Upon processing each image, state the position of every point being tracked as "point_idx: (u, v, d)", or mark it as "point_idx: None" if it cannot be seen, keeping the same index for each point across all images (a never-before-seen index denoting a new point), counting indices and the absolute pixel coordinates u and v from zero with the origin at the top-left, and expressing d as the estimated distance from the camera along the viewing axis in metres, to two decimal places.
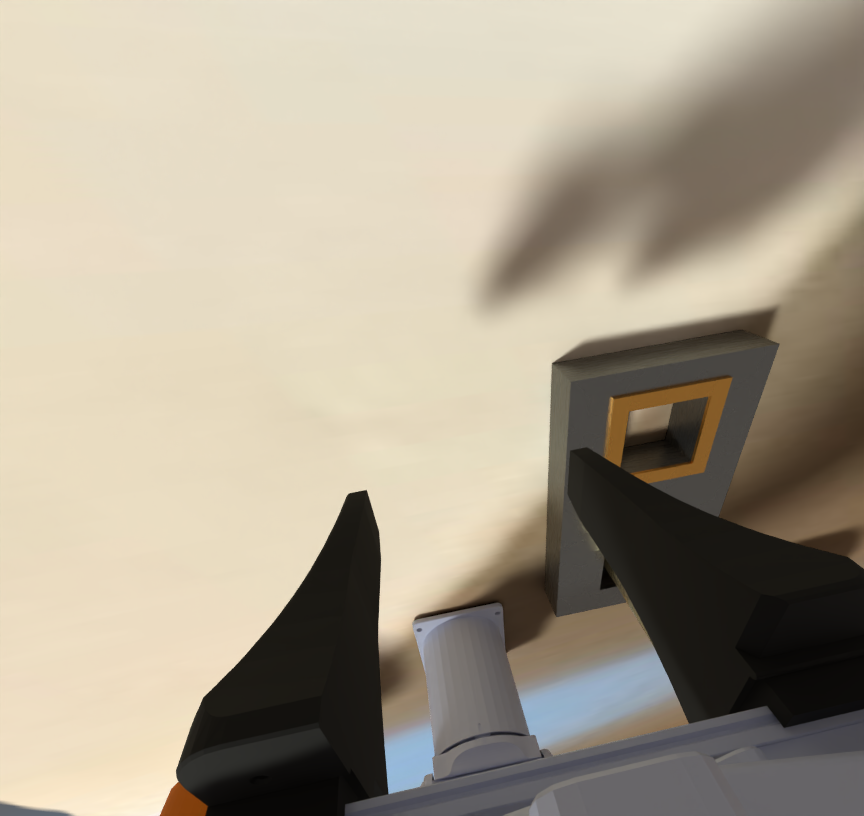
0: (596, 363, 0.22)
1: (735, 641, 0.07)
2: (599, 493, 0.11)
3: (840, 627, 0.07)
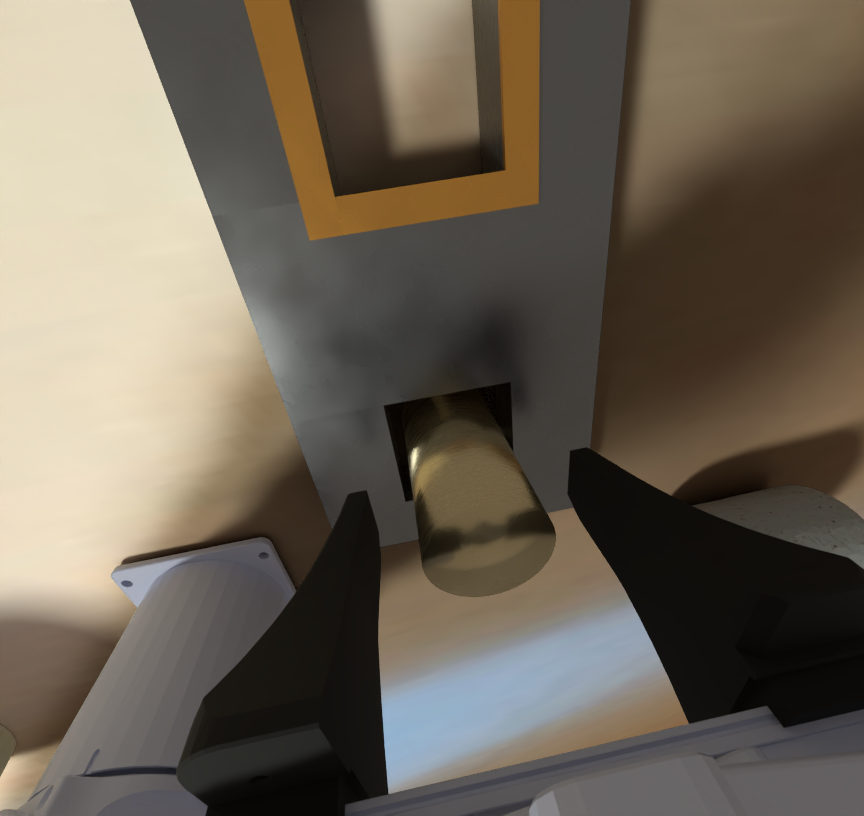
0: None
1: (735, 641, 0.07)
2: (599, 493, 0.11)
3: (840, 627, 0.07)
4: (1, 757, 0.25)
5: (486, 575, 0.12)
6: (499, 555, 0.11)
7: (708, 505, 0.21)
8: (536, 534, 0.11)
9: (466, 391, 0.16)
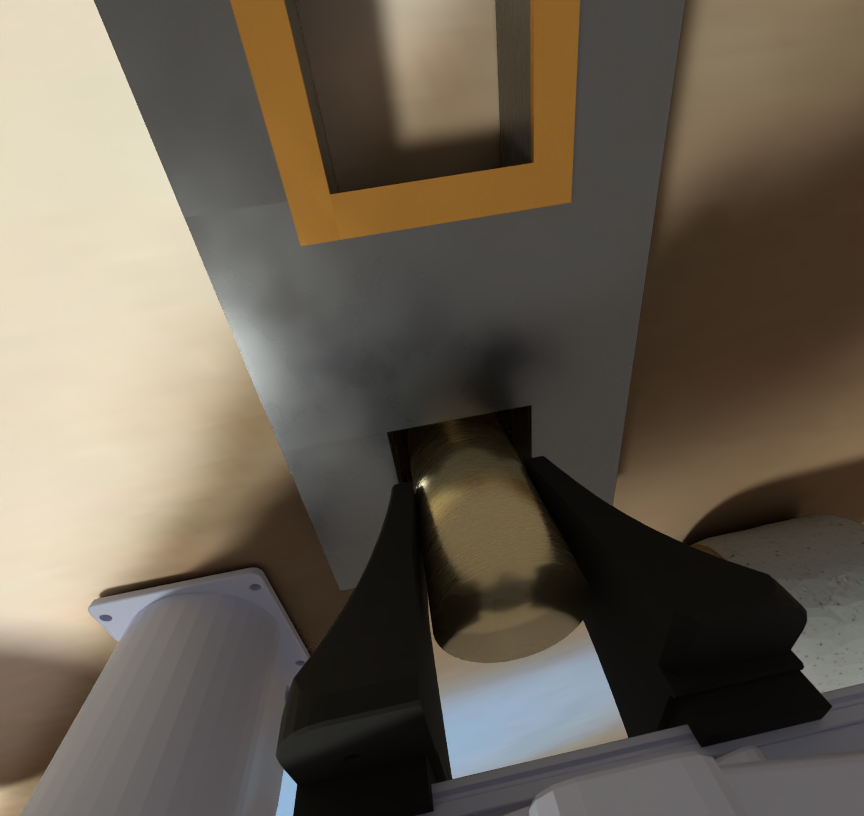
0: None
1: (658, 658, 0.07)
2: (550, 503, 0.11)
3: (760, 645, 0.07)
4: None
5: (508, 640, 0.10)
6: (524, 619, 0.09)
7: (738, 537, 0.20)
8: (569, 596, 0.09)
9: None
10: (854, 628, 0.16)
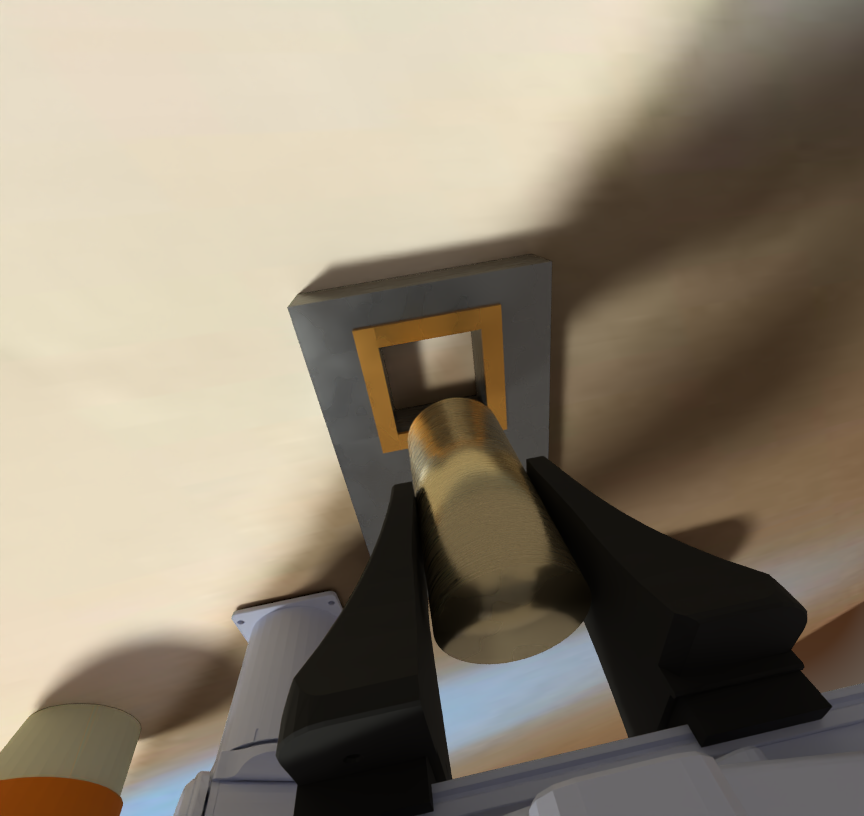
0: (341, 290, 0.18)
1: (658, 658, 0.07)
2: (550, 503, 0.11)
3: (760, 645, 0.07)
4: (135, 740, 0.34)
5: (508, 642, 0.10)
6: (524, 621, 0.10)
7: None
8: (569, 597, 0.09)
9: (479, 414, 0.14)
10: None
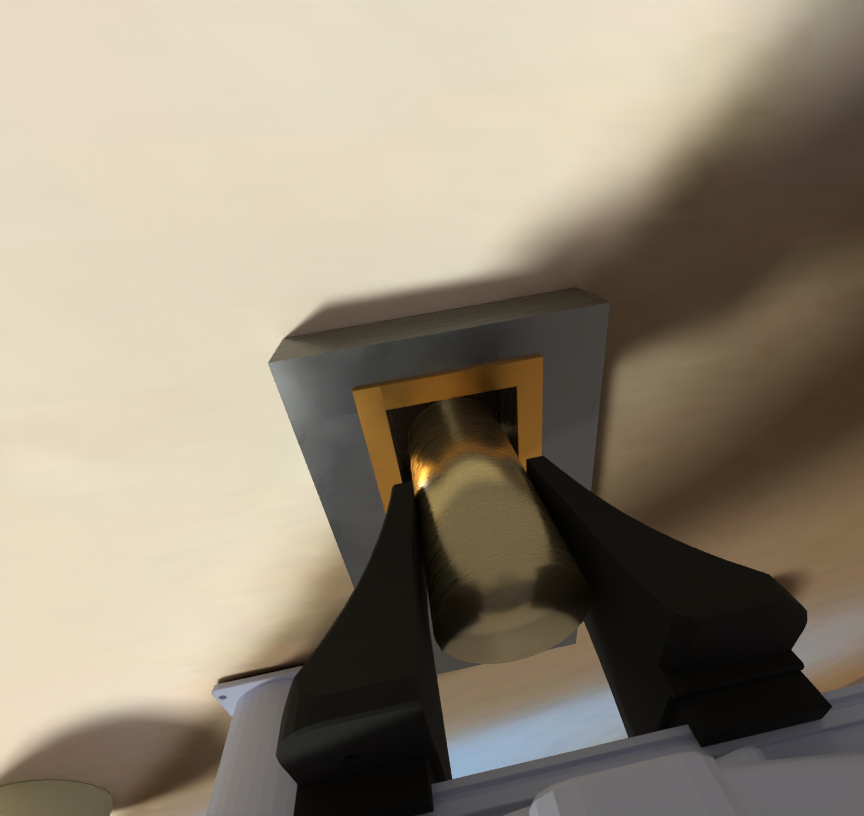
0: (338, 336, 0.14)
1: (658, 658, 0.07)
2: (550, 503, 0.11)
3: (760, 645, 0.07)
4: None
5: (508, 641, 0.10)
6: (524, 621, 0.10)
7: None
8: (569, 597, 0.09)
9: (479, 414, 0.14)
10: None
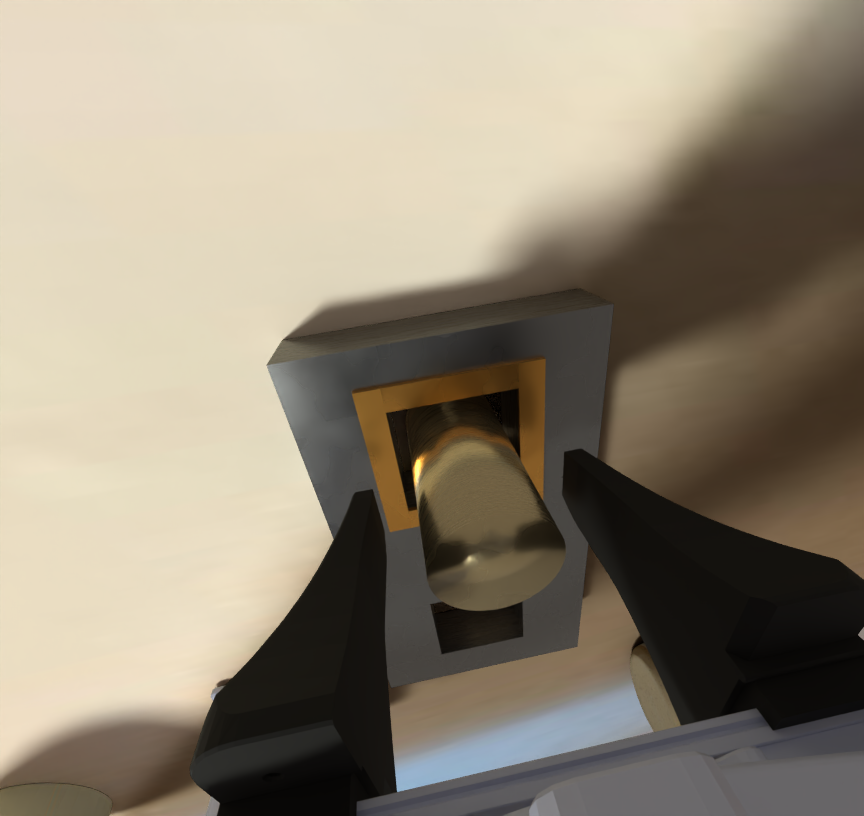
0: (337, 337, 0.14)
1: (725, 643, 0.07)
2: (593, 494, 0.11)
3: (829, 629, 0.07)
4: None
5: (493, 589, 0.11)
6: (507, 569, 0.11)
7: None
8: (545, 547, 0.11)
9: None
10: None
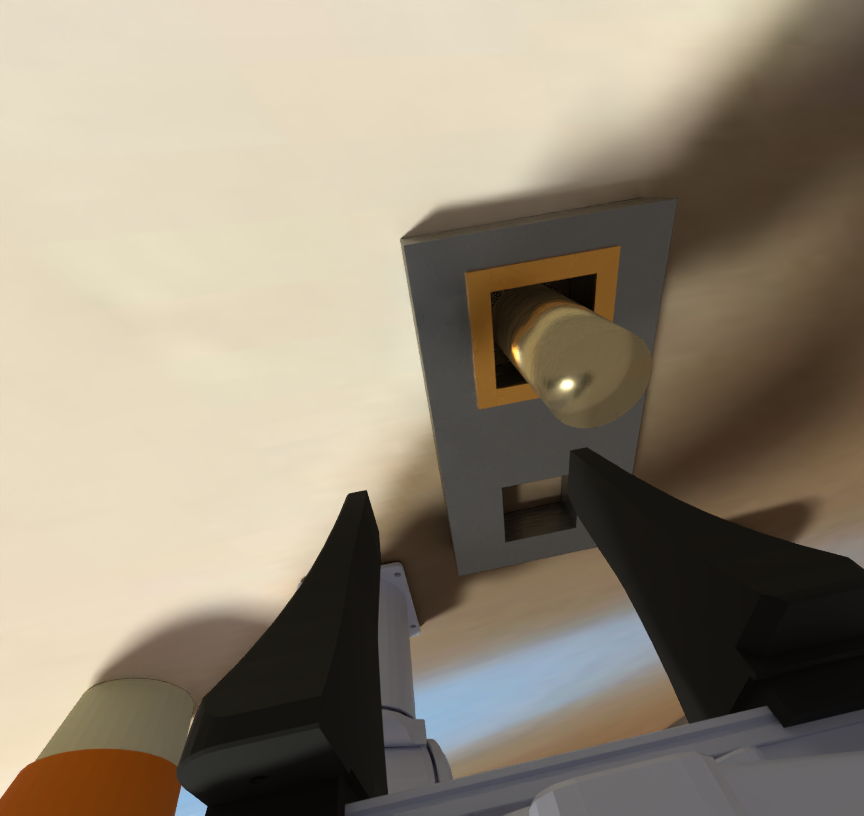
0: (449, 232, 0.17)
1: (735, 641, 0.07)
2: (599, 493, 0.11)
3: (840, 627, 0.07)
4: (190, 717, 0.34)
5: (593, 406, 0.14)
6: (606, 386, 0.14)
7: None
8: (637, 366, 0.14)
9: (551, 289, 0.19)
10: None
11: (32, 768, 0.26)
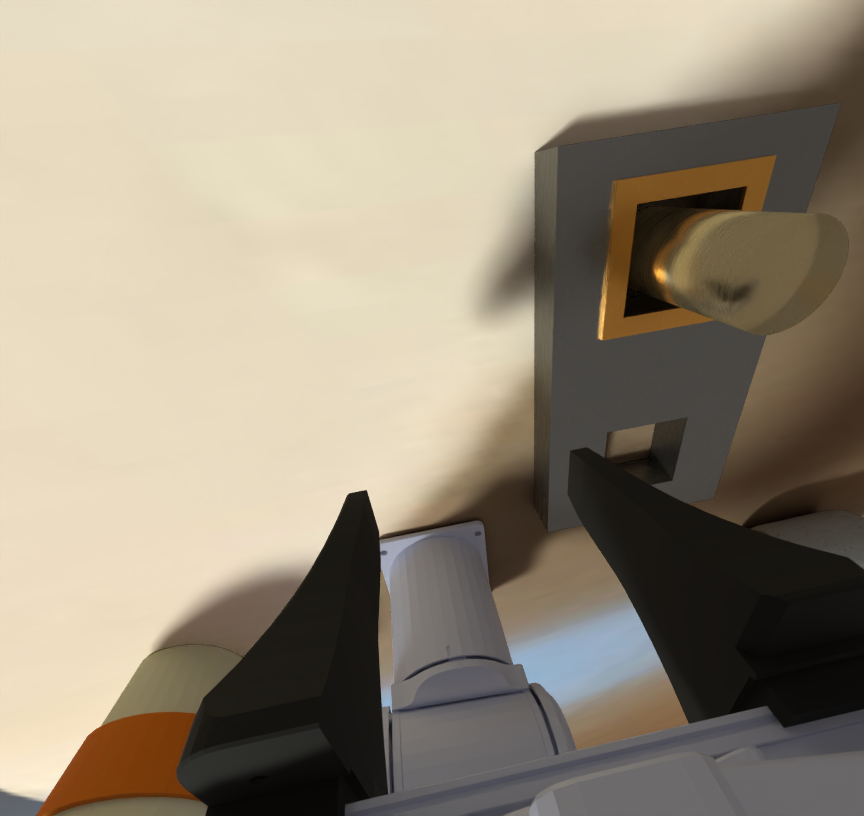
0: None
1: (735, 641, 0.07)
2: (599, 493, 0.11)
3: (840, 627, 0.07)
4: None
5: (776, 308, 0.14)
6: (795, 284, 0.13)
7: (779, 524, 0.31)
8: (831, 260, 0.13)
9: None
10: None
11: (103, 731, 0.25)
